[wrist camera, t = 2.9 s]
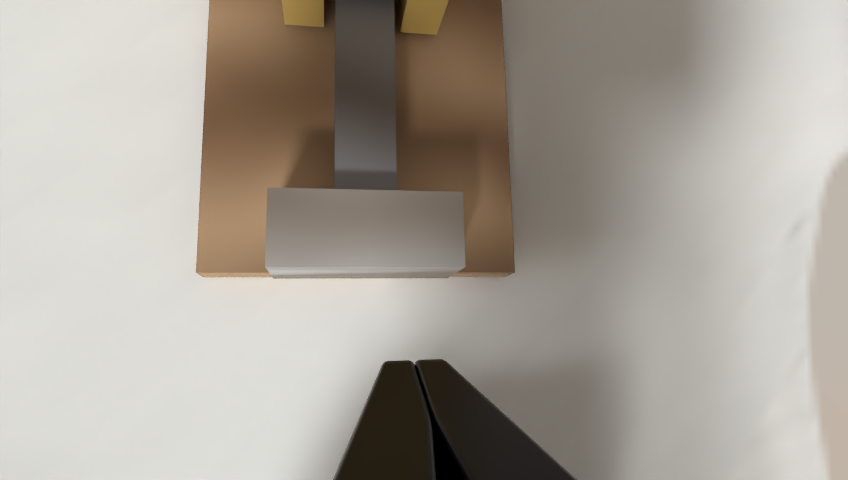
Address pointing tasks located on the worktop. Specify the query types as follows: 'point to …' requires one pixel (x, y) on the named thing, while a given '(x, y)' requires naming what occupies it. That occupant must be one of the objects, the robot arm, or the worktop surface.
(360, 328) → the worktop surface
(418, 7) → the yellow rectangular block
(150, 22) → the worktop surface
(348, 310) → the worktop surface
